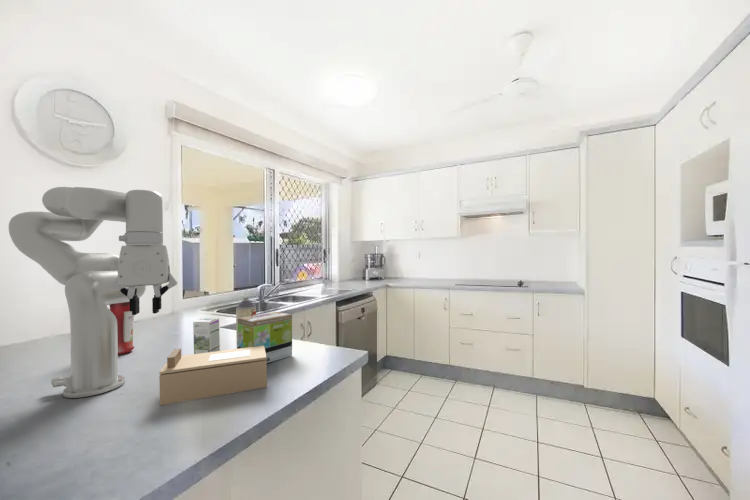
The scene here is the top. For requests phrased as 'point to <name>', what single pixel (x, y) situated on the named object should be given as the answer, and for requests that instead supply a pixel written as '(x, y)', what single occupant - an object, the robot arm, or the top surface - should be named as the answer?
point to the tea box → (267, 334)
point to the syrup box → (206, 335)
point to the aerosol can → (244, 310)
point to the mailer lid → (211, 359)
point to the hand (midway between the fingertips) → (145, 312)
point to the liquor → (123, 326)
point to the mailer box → (212, 381)
